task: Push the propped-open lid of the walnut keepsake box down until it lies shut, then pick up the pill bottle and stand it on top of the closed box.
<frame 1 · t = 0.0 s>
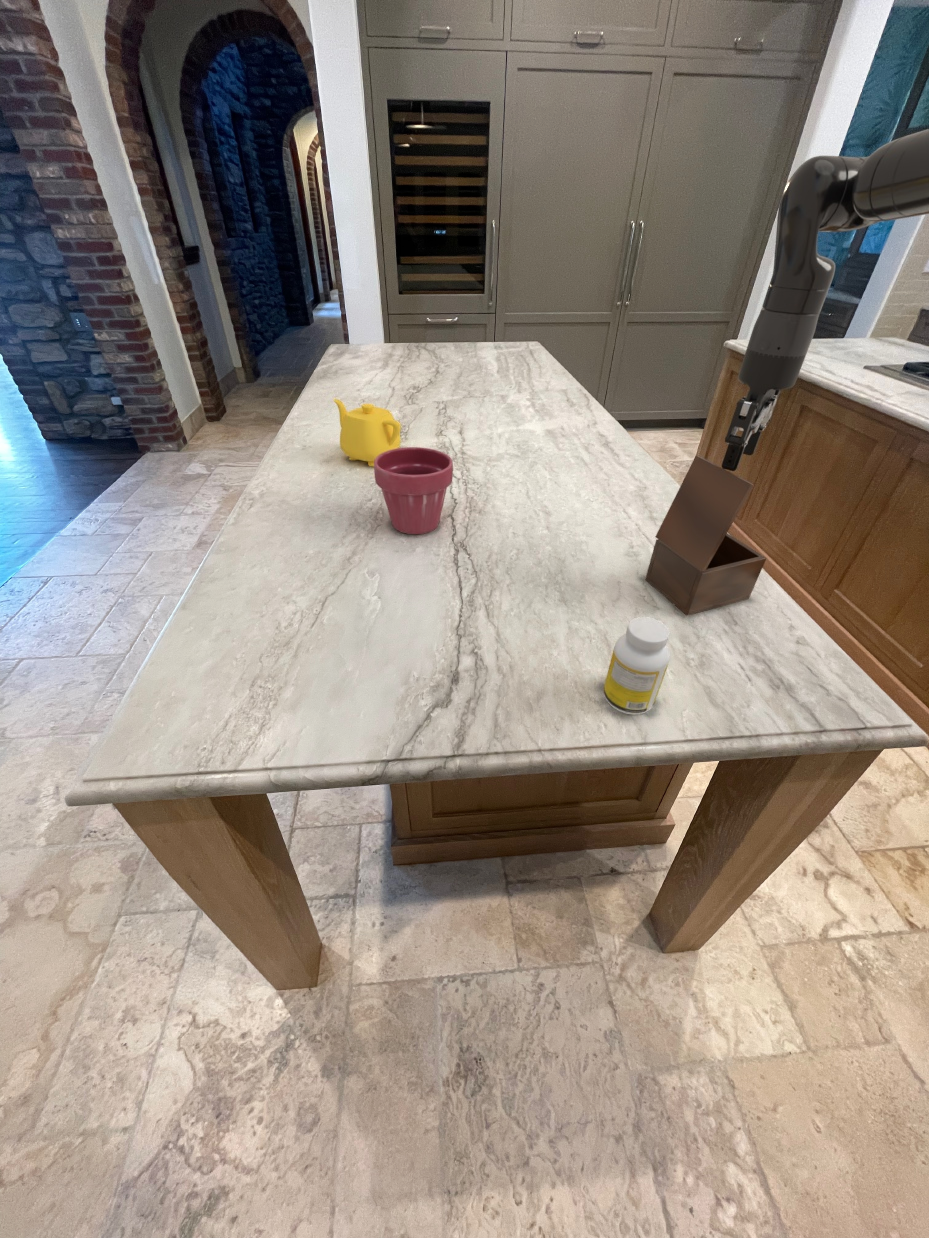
hand: (737, 461, 84), 19 cm above the table, tool pointing down, fingers open, 8 cm apart
keepsake box: (695, 589, 89), on the table
teapot: (369, 457, 131), on the table
pill bottle: (627, 699, 69), on the table
flower pot: (415, 524, 105), on the table
lid: (700, 513, 78), point 15 cm above the table, hinge at 75.0°
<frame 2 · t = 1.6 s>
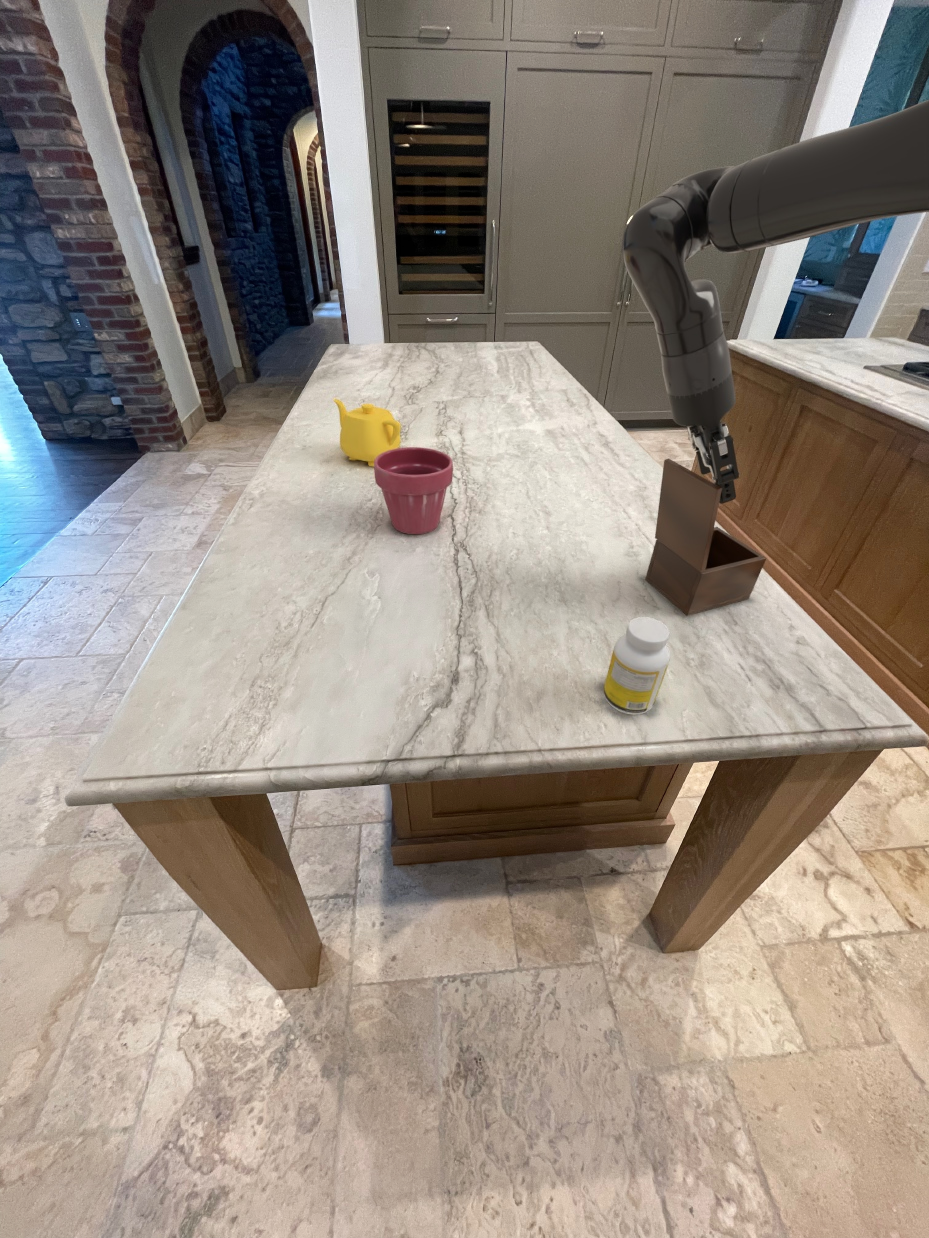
hand: (717, 485, 76), 19 cm above the table, tool tilted 25°, fingers open, 8 cm apart
lid: (684, 515, 77), point 15 cm above the table, hinge at 99.8°, touching gripper
everything else where it was.
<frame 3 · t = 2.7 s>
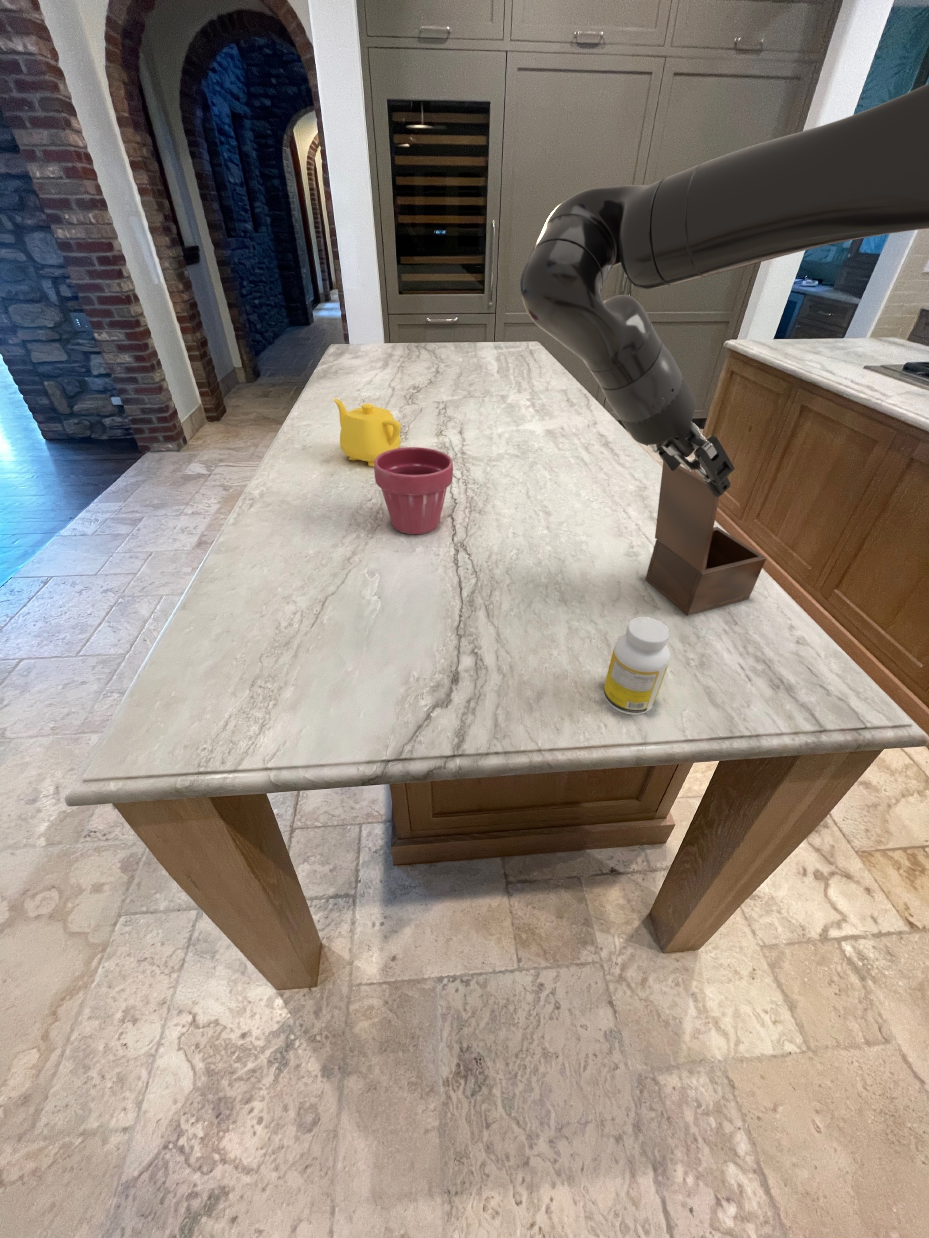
hand: (698, 477, 69), 23 cm above the table, tool tilted 45°, fingers open, 8 cm apart
lid: (684, 515, 77), point 15 cm above the table, hinge at 100.4°
everything else where it was.
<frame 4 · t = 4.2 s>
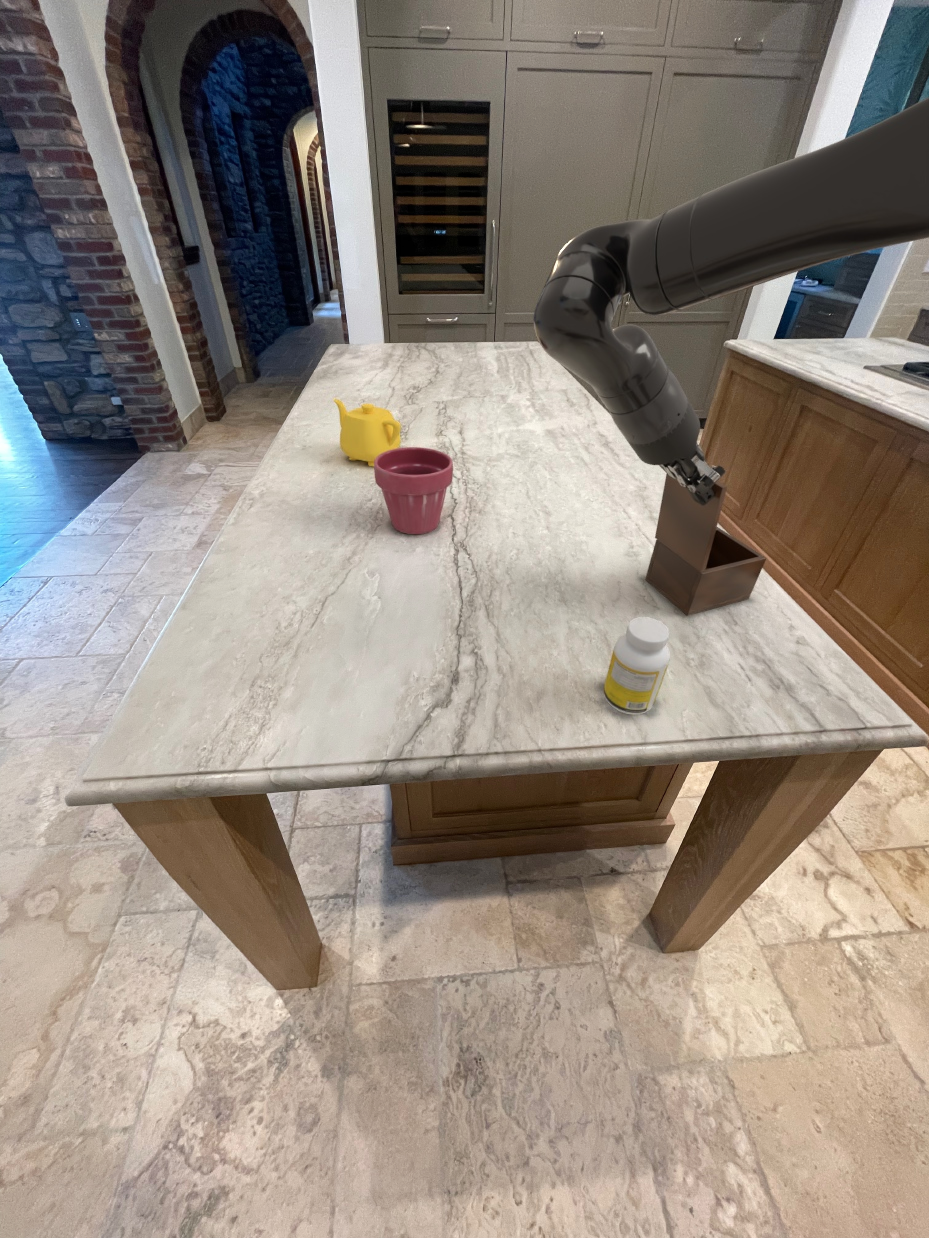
hand: (705, 498, 72), 19 cm above the table, tool tilted 45°, fingers closed
lid: (687, 514, 77), point 15 cm above the table, hinge at 96.1°
everything else where it was.
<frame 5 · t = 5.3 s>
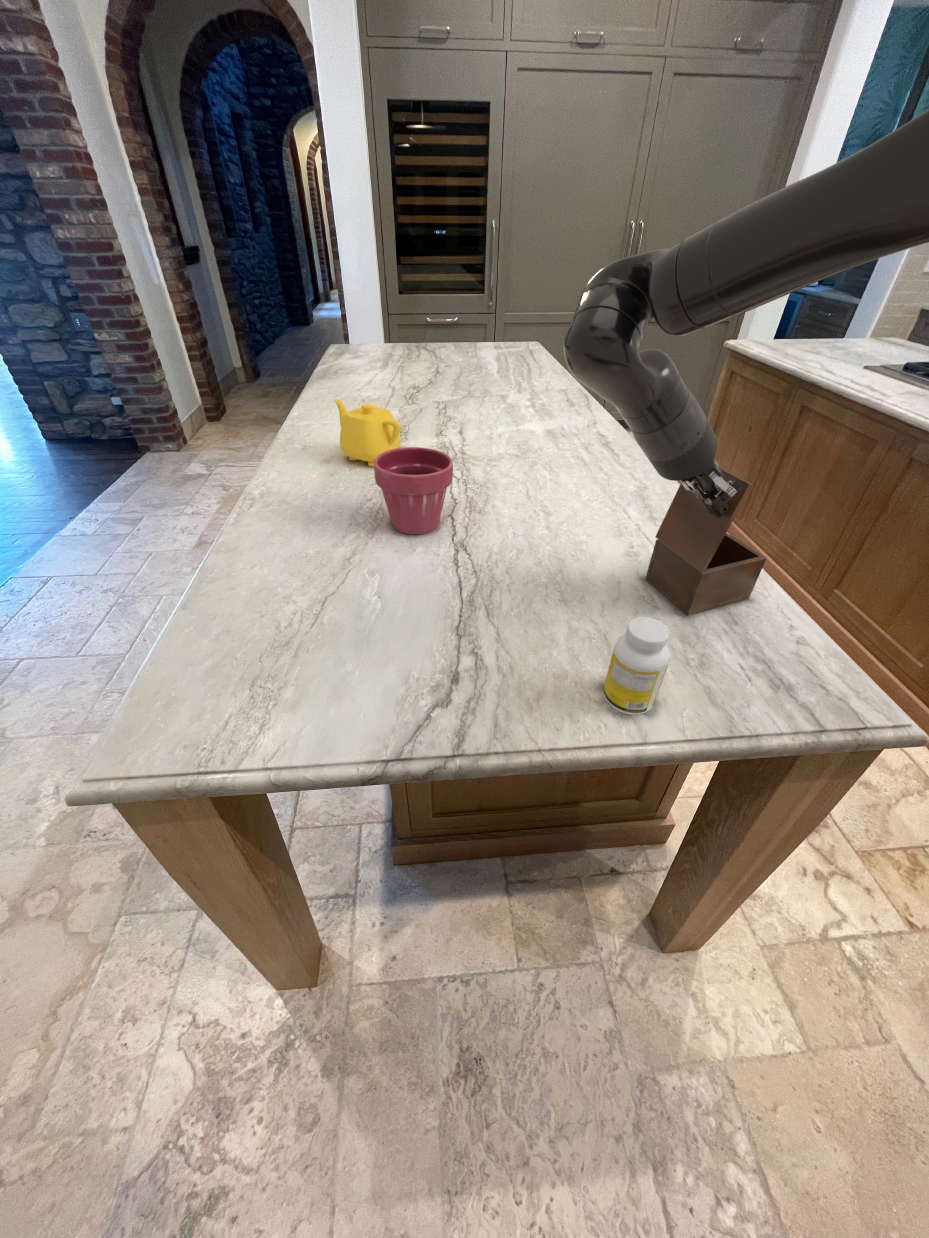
hand: (720, 510, 74), 17 cm above the table, tool tilted 45°, fingers closed
lid: (699, 513, 78), point 15 cm above the table, hinge at 76.2°, touching gripper
everything else where it was.
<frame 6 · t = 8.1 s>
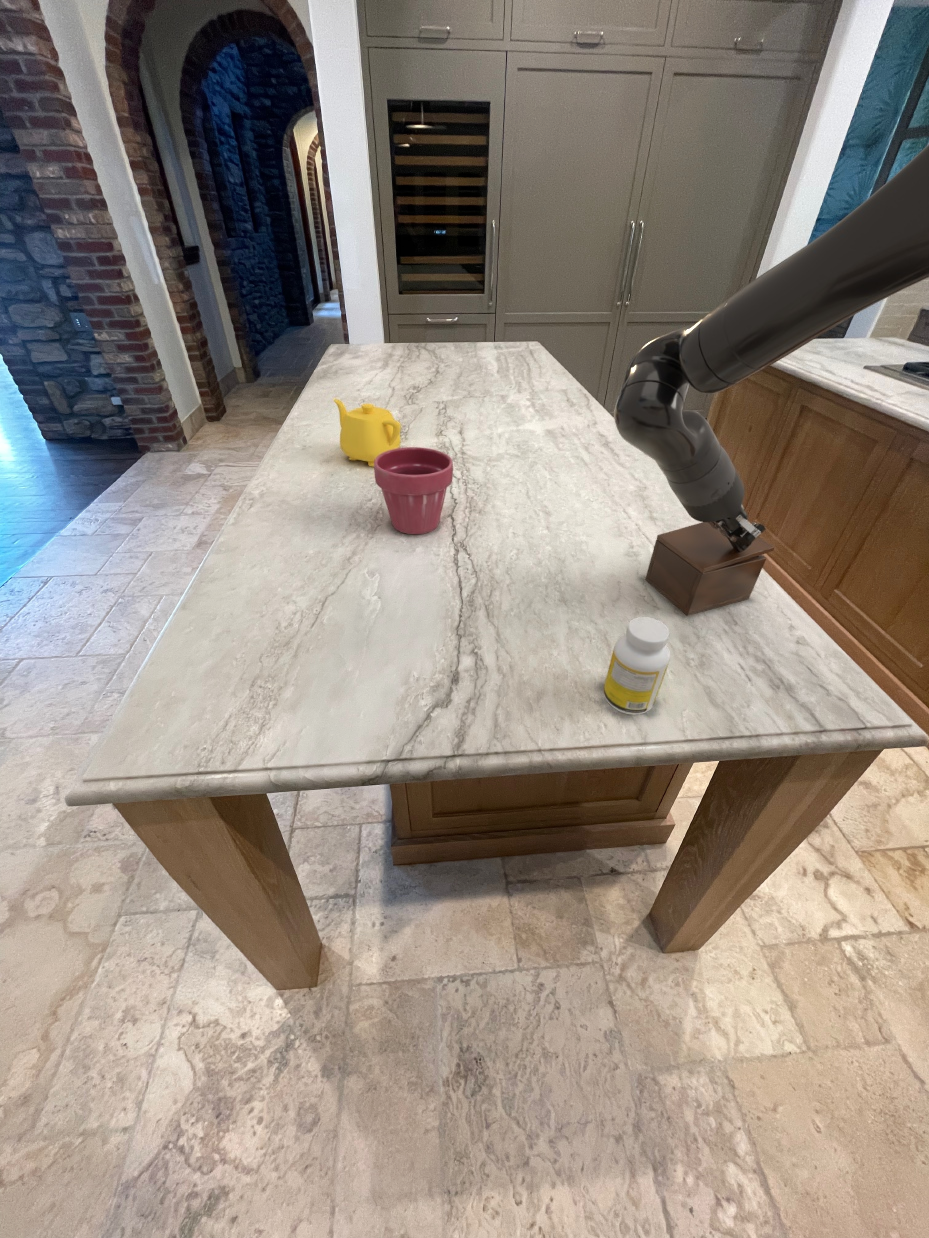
hand: (742, 545, 81), 10 cm above the table, tool tilted 45°, fingers closed
lid: (714, 542, 83), point 9 cm above the table, hinge at 4.2°, touching gripper
everything else where it was.
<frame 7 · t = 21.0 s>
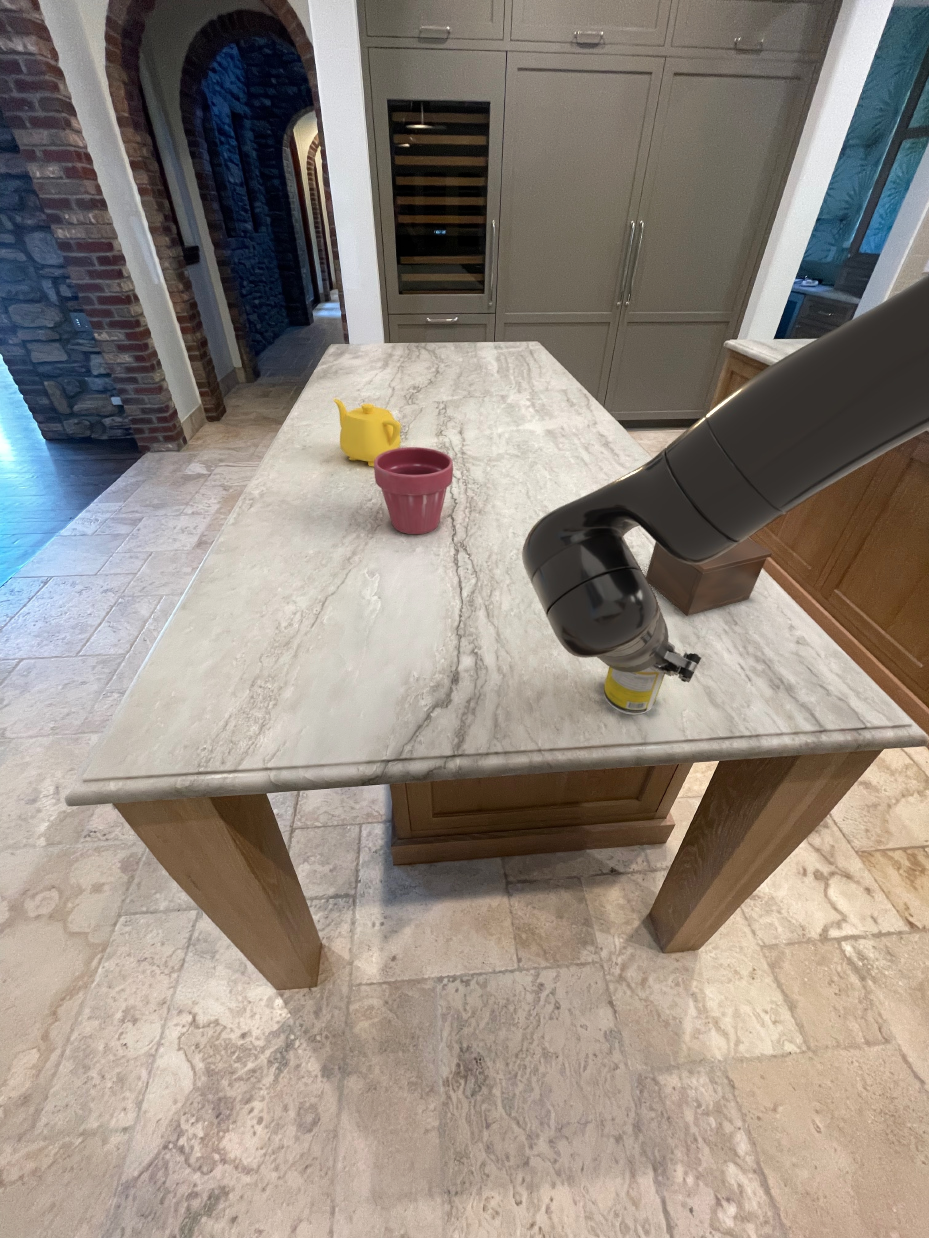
hand: (644, 654, 66), 6 cm above the table, tool tilted 45°, fingers closed on pill bottle, 6 cm apart
pill bottle: (627, 699, 69), on the table, touching gripper
lid: (713, 545, 84), point 8 cm above the table, hinge at -0.2°, touching keepsake box
everything else where it was.
when the fingers open (15 cm above the table, at t = 31.4 s): pill bottle stays where it is, point 8 cm above the table.
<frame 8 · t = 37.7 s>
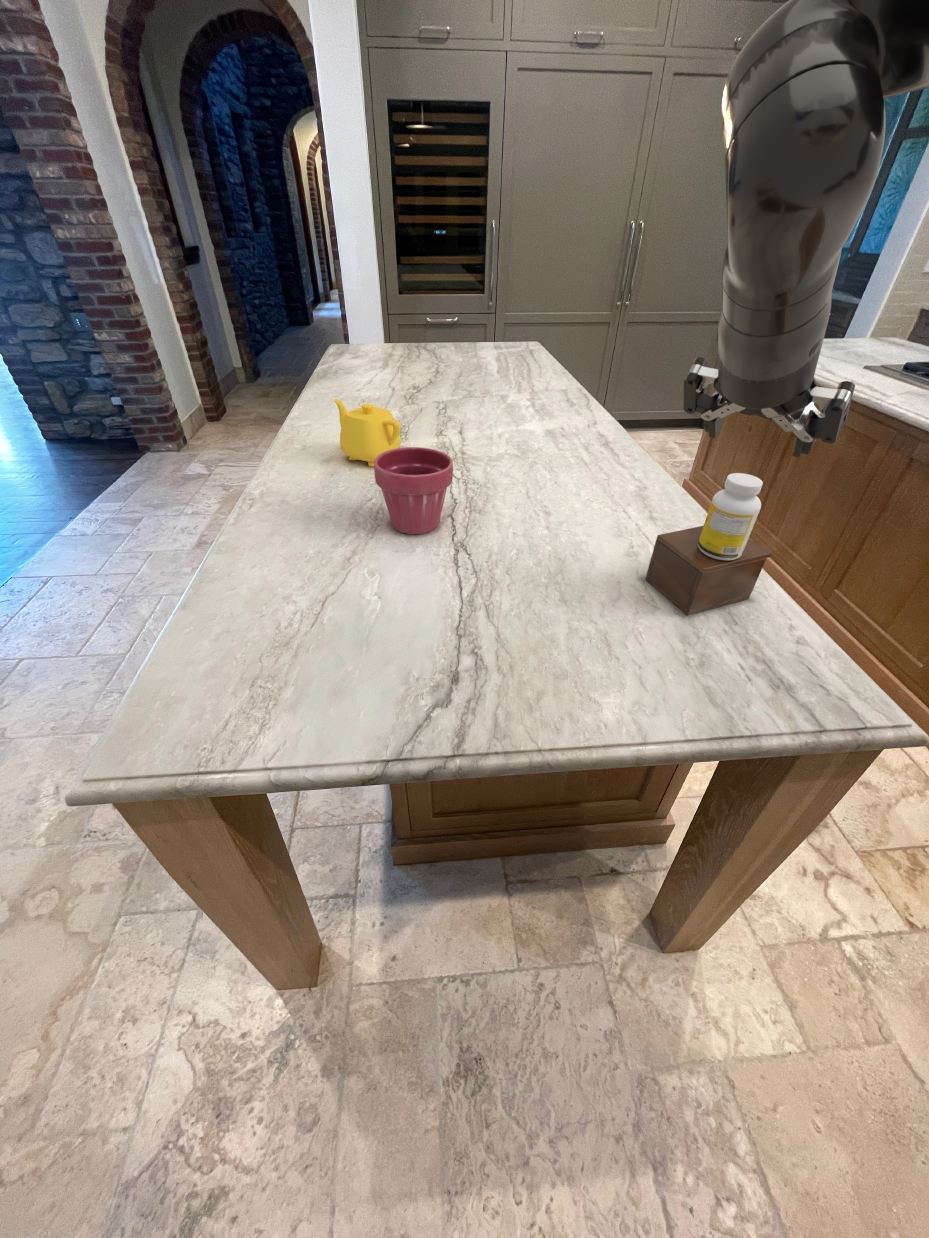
hand: (756, 439, 57), 31 cm above the table, tool tilted 45°, fingers open, 8 cm apart
pill bottle: (718, 552, 82), point 8 cm above the table
everything else where it was.
at the end: lid at +0° (first picture: +75°); pill bottle inside the target area on the keepsake box (2.2 cm from its centre), point 8.4 cm above the keepsake box's base; pill bottle tilted 0° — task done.
